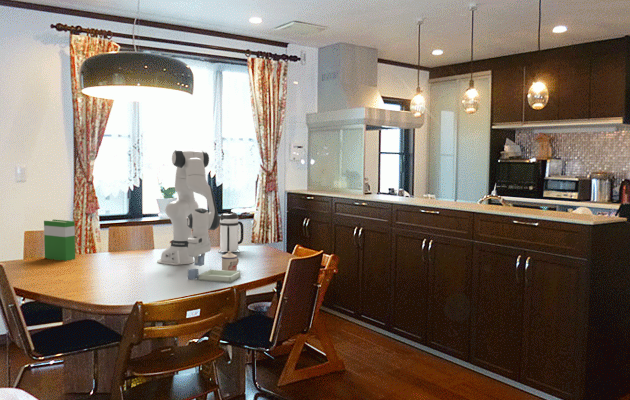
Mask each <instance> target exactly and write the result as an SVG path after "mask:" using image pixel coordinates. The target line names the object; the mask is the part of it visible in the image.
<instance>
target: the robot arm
mask: <svg viewBox="0 0 630 400" xmlns="http://www.w3.org/2000/svg"><path fill="white" fill-rule="evenodd" d="M209 156H210V155H209V153H208V152H206V151H204V150H197V149H176V150H174V151H173V152H172V156H171V161H172V165H173V166H175V168H176V171H175V182H174V191H175V192H176V194H177V196H178V200H173V201H171V202H169V203H168V204H167V205H166V206H165V210H164V211H165V214H166V216H167V217H168V218H169V220H170V222H171V225H172V236H173V237H172V238H173V239H172V240H170V241H169V244H170V246H168V247H167V248H166V249H165V250H163V251H162V252H161V255H160V259H158V260H157V263H158V264H163V265H164V264H165V265H171V266H173V265H174V266H179V265H188V264H189V265H190V264H193V263H194V260H195V263H199V260H198V256H199V255H200V256H204V257H205V256H206V253H208V252H210V251H211V250H212V248H211V247H212V246H211V245H212V244H211V239H210V236H209V230H210V231H215V230H217V229H218V228H220V215H219V213H218V208H217V204H216V199H215V194H214V189H213V188H212V186H211V185H209V183H208V182H207V177H206V169H205V168H207V167H208V166H209V162H210V157H209ZM194 193H196V194H199V195H201V196H202V197H204V198H205V199H206V203H207V207H208V209H206V208H203V207H202V208H201V207H200V206H199V204H198V202H197V201H196V198H195V194H194Z"/></svg>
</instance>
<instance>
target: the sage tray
mask: <svg viewBox="0 0 630 400" xmlns="http://www.w3.org/2000/svg"><path fill="white" fill-rule="evenodd" d="M239 277H240V278H241V271H238V270H237V271H224V270H222V269H208V270H206V271H204V272H202V273H200V274H198V280H199V281H202V282H203V281H205V282H216V283H217V282H218V283H230V284H231V283H232V282H234V281H236V280H238V279H239Z"/></svg>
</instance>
